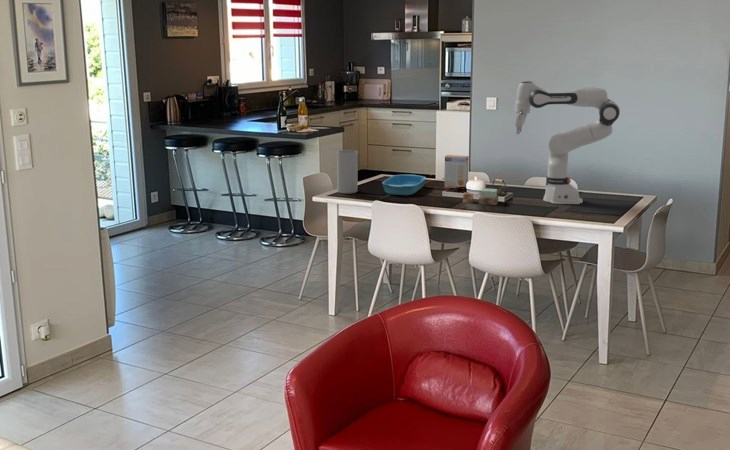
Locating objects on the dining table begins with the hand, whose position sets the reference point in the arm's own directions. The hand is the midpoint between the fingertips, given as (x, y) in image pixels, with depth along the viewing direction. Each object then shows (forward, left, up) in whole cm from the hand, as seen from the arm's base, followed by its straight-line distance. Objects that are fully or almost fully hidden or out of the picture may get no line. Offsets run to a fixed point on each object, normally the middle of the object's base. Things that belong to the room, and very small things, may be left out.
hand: (518, 133), depth 467 cm
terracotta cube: (+26, +17, -39) cm, 50 cm away
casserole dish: (+69, -4, -39) cm, 79 cm away
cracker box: (+39, -18, -39) cm, 58 cm away
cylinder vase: (+102, +10, -39) cm, 109 cm away
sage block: (+14, +17, -35) cm, 41 cm away
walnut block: (+14, +17, -39) cm, 45 cm away
